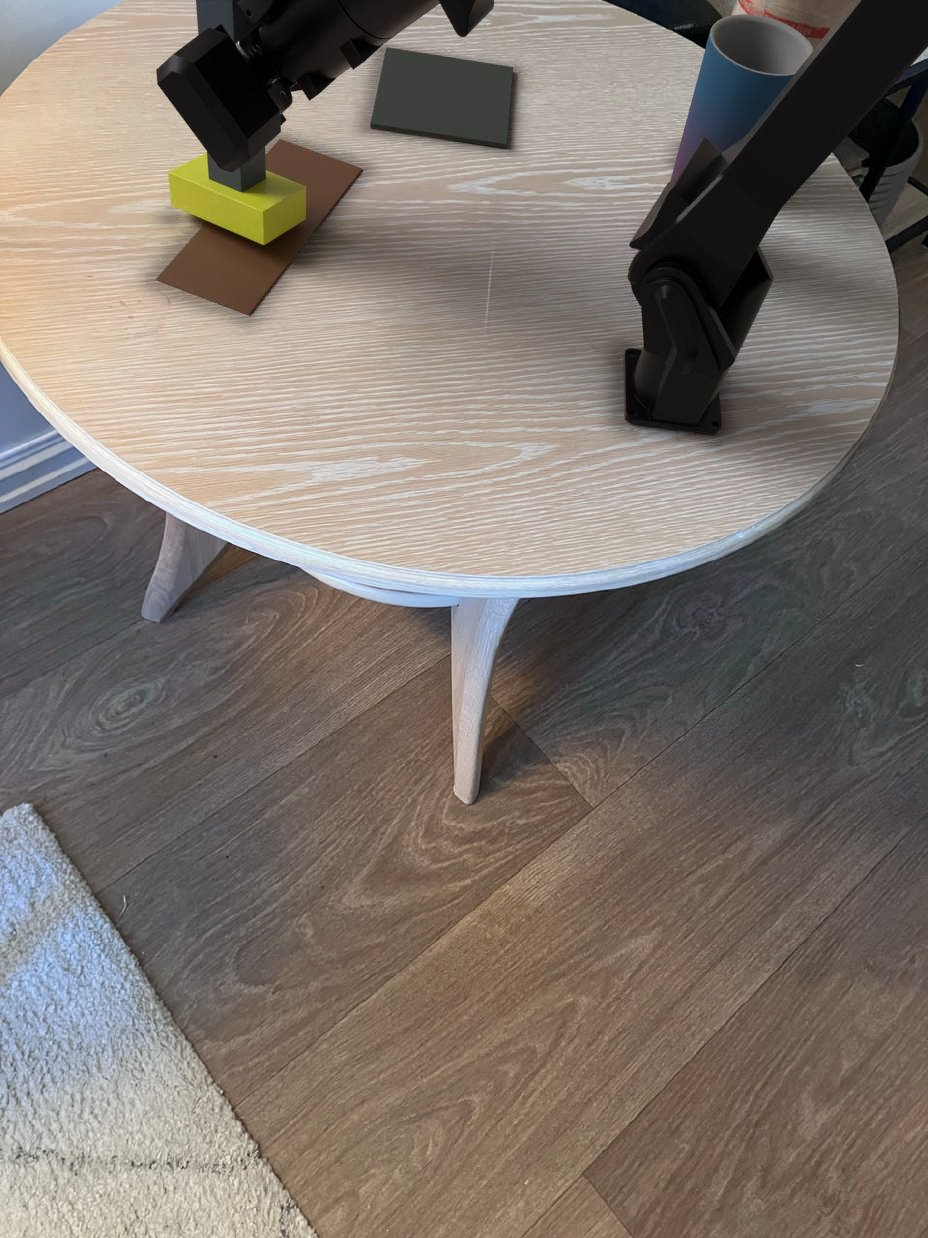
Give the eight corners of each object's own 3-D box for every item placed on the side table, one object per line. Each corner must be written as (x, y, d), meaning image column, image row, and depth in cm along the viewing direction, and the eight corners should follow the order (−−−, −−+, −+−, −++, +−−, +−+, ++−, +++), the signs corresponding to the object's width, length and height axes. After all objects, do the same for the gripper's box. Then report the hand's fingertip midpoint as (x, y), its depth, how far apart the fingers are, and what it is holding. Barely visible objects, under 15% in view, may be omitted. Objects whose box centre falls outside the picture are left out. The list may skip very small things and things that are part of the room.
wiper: (263, 245, 64) (257, 15, 54) (171, 205, 66) (146, -26, 55) (306, 219, 67) (307, -4, 57) (216, 181, 69) (201, -41, 58)
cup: (728, 222, 74) (810, 23, 61) (732, 280, 70) (820, 83, 57) (643, 208, 73) (708, 5, 60) (643, 266, 70) (712, 64, 57)
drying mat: (506, 148, 75) (507, 143, 75) (370, 127, 74) (370, 123, 74) (512, 71, 81) (513, 66, 80) (386, 51, 80) (386, 46, 80)
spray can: (661, 147, 78) (753, -141, 60) (743, 133, 80) (853, -148, 63) (712, 211, 74) (825, -75, 57) (796, 195, 76) (929, -84, 59)
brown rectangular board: (249, 316, 63) (248, 313, 63) (156, 280, 63) (155, 278, 63) (362, 170, 72) (362, 167, 72) (279, 140, 72) (279, 138, 72)
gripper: (362, -236, 51) (213, -77, 62) (159, -114, 42) (24, 47, 53) (471, -29, 57) (316, 83, 68) (313, 118, 48) (163, 220, 59)
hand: (215, 103), depth 62 cm, fingers closed on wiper, 3 cm apart
